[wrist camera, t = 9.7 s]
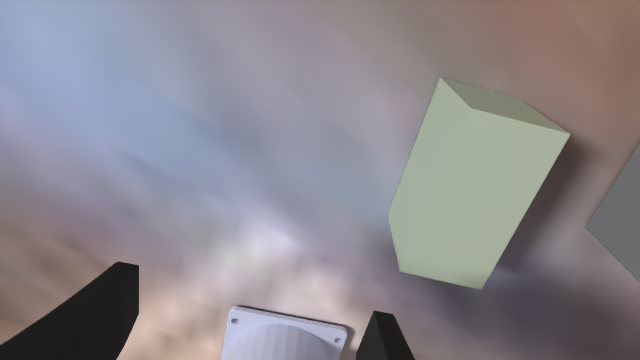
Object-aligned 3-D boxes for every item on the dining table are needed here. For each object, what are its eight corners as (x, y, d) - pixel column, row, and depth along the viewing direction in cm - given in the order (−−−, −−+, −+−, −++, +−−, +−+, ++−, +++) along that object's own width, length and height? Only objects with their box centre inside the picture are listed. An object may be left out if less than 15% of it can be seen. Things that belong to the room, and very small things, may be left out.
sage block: (453, 229, 23) (481, 290, 19) (387, 213, 23) (399, 271, 18) (517, 97, 20) (570, 134, 15) (440, 77, 19) (471, 108, 15)
